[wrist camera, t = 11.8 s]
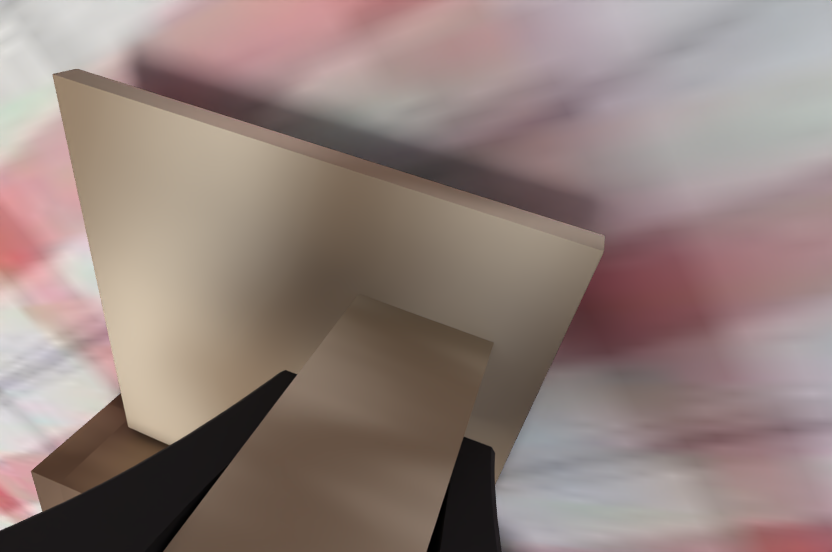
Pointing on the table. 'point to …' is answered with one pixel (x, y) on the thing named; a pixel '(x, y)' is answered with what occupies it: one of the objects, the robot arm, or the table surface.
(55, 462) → the tray
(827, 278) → the table surface
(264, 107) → the table surface
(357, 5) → the table surface
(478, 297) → the lid
